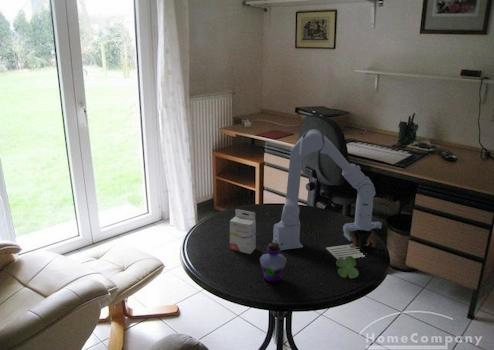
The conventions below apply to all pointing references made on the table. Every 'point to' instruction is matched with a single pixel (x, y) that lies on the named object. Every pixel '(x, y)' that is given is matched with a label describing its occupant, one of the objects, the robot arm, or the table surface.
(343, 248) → the white slatted trivet
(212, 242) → the table surface
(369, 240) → the lion figurine
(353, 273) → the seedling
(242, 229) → the ink cartridge box
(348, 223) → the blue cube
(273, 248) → the potion bottle
